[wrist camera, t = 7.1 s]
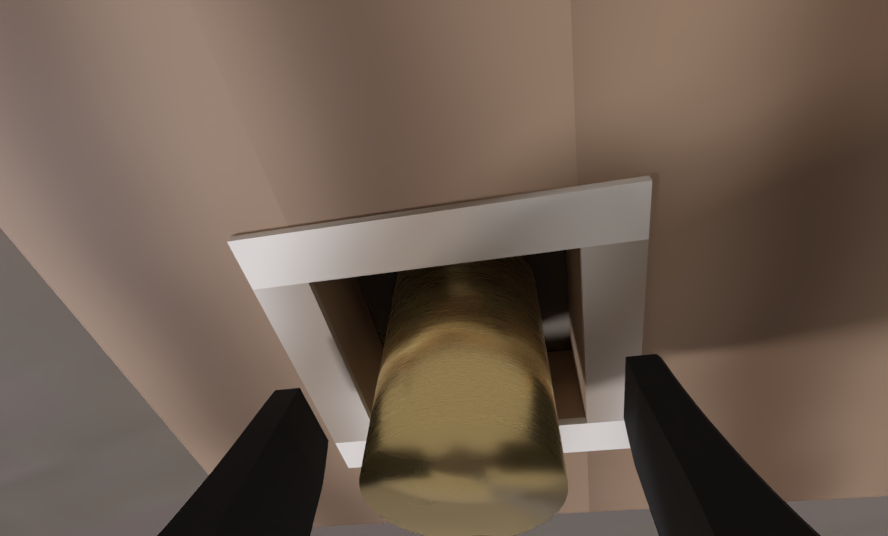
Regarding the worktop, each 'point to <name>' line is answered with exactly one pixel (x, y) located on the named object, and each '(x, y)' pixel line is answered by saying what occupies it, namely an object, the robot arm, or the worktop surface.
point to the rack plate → (469, 207)
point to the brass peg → (465, 406)
